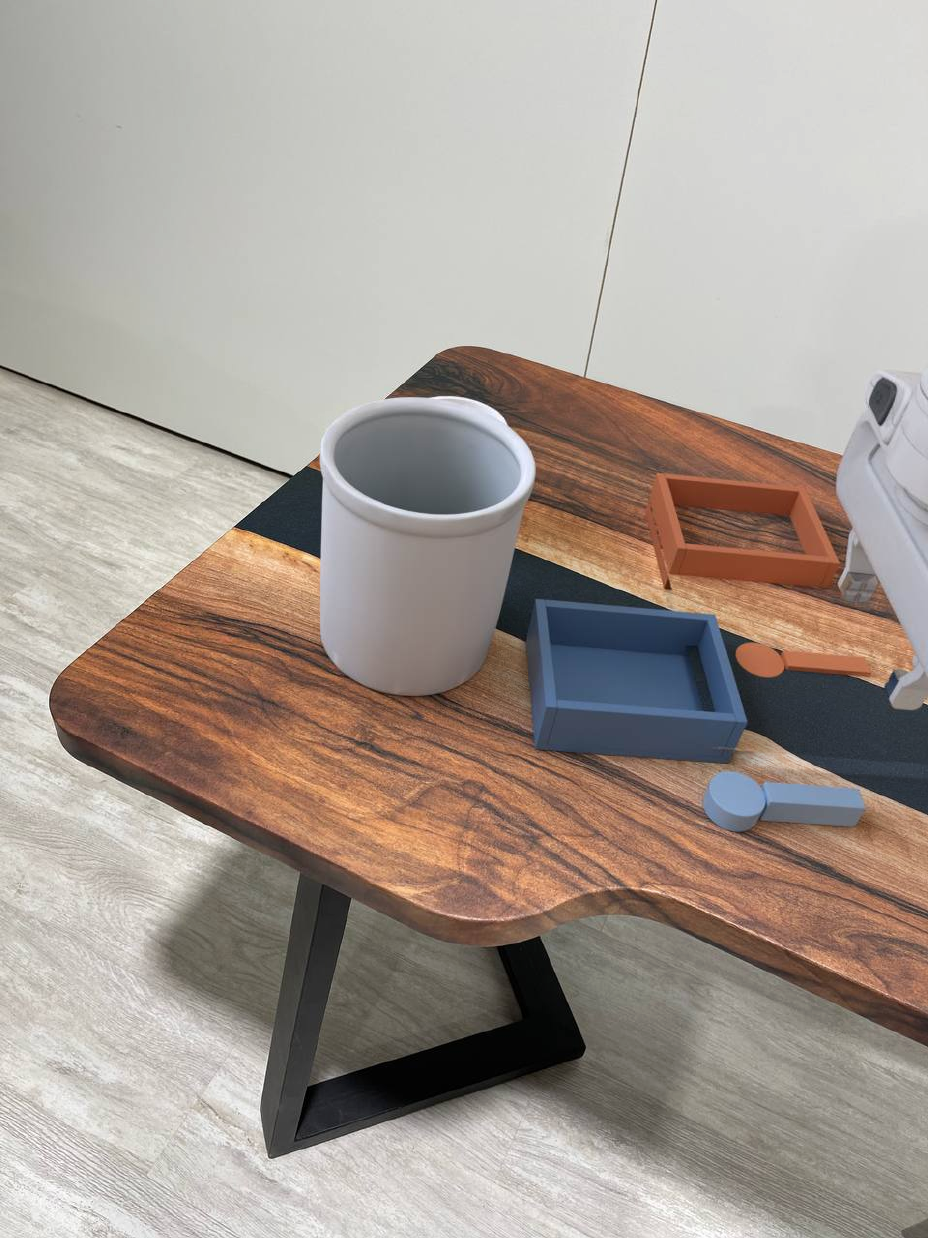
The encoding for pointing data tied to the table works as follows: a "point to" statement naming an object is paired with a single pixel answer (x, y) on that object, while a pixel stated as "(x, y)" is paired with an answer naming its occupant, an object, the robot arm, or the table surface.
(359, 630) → the utensil holder
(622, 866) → the table surface
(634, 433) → the table surface
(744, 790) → the spoon blue
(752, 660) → the spoon terracotta
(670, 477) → the bin terracotta
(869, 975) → the table surface
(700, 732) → the bin blue
